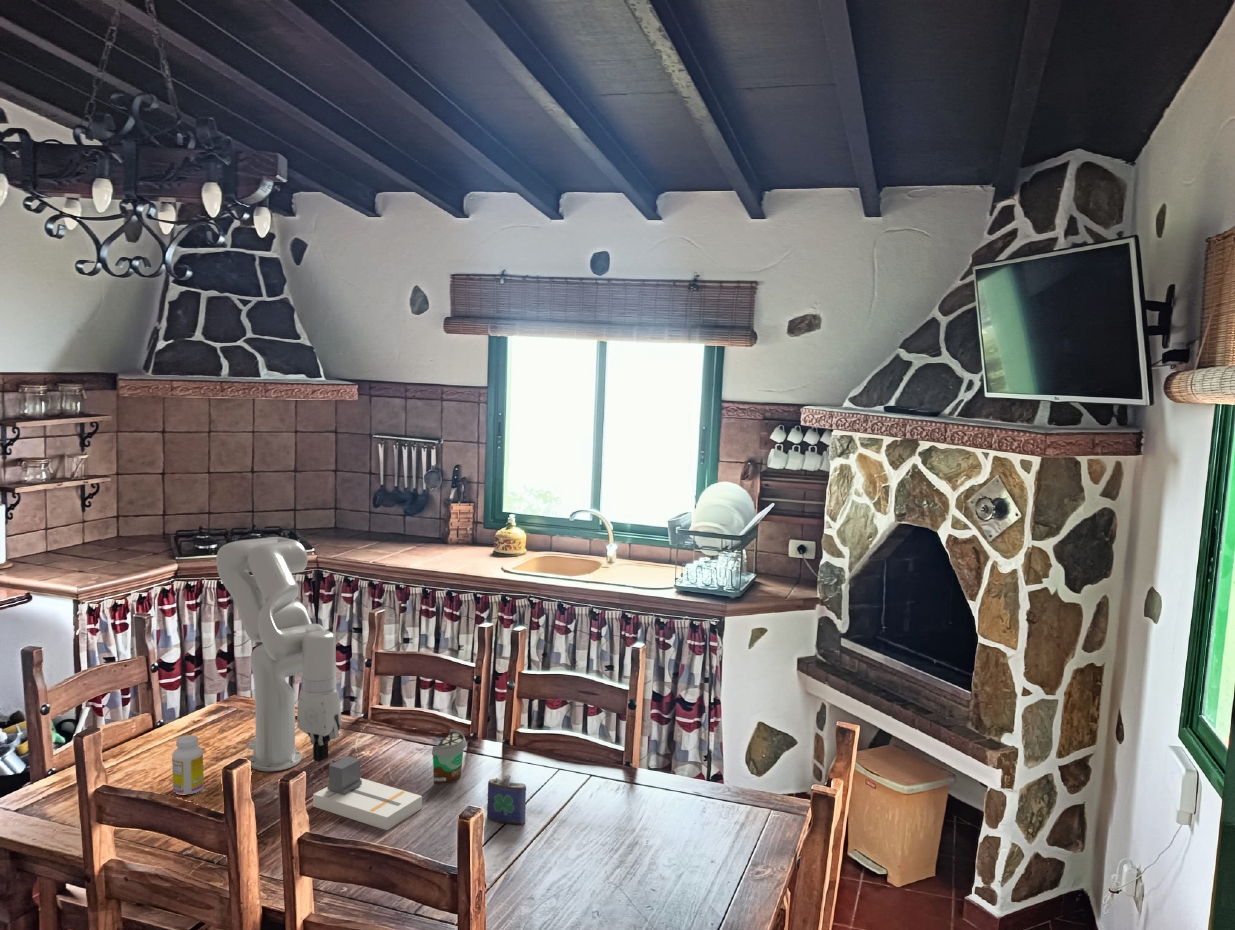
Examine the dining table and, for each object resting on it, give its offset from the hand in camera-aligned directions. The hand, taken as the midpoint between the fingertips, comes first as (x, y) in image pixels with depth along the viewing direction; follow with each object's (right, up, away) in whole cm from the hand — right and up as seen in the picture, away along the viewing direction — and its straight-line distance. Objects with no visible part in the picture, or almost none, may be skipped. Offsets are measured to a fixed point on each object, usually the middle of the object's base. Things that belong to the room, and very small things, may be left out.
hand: (320, 759), depth 222 cm
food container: (+29, -9, +12) cm, 33 cm away
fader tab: (+6, -6, -3) cm, 9 cm away
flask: (+45, -11, -10) cm, 47 cm away
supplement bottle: (-32, -8, 0) cm, 33 cm away
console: (+13, -10, -5) cm, 17 cm away
